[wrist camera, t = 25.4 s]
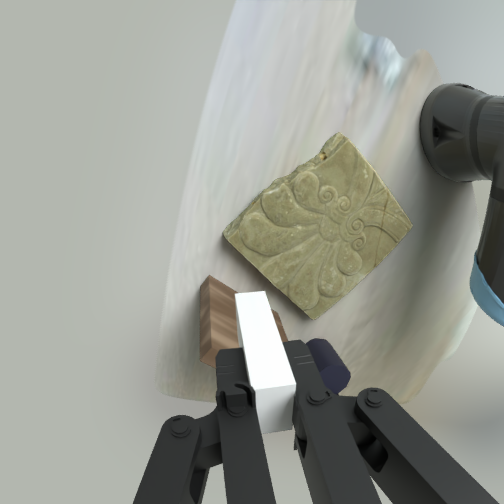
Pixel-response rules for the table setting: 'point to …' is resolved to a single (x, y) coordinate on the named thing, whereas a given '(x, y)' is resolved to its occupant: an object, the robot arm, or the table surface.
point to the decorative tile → (321, 227)
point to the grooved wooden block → (221, 320)
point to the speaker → (329, 365)
